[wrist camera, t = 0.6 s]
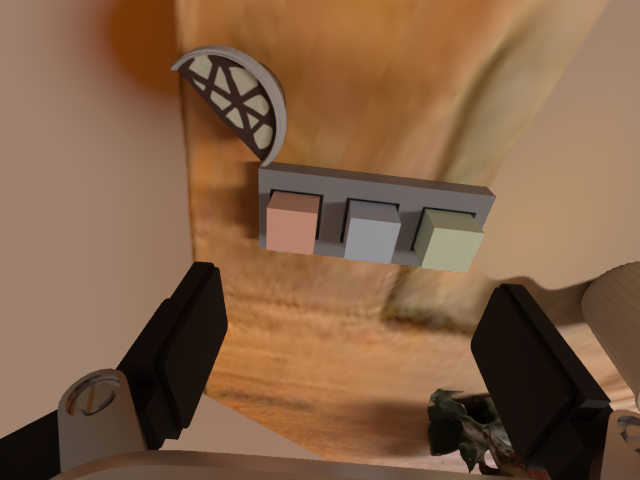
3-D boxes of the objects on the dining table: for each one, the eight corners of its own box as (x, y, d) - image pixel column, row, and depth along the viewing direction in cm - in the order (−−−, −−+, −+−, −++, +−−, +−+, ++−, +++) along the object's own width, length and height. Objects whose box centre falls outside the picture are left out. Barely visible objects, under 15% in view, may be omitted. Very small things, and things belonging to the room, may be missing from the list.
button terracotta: (274, 190, 41) (266, 207, 37) (319, 196, 41) (317, 213, 37) (273, 229, 44) (266, 249, 40) (315, 234, 44) (312, 255, 40)
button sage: (425, 208, 41) (434, 227, 37) (470, 213, 41) (485, 233, 37) (413, 246, 45) (420, 267, 40) (455, 251, 45) (467, 273, 40)
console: (263, 160, 42) (257, 170, 39) (486, 187, 42) (498, 199, 39) (263, 236, 48) (257, 250, 45) (456, 259, 48) (464, 274, 45)
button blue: (349, 199, 41) (350, 217, 37) (395, 205, 41) (401, 223, 37) (343, 238, 45) (343, 258, 40) (385, 243, 45) (390, 264, 40)
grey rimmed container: (317, 112, 38) (310, 132, 30) (280, 144, 40) (264, 171, 32) (243, 16, 33) (210, 8, 25) (206, 58, 36) (165, 64, 27)
